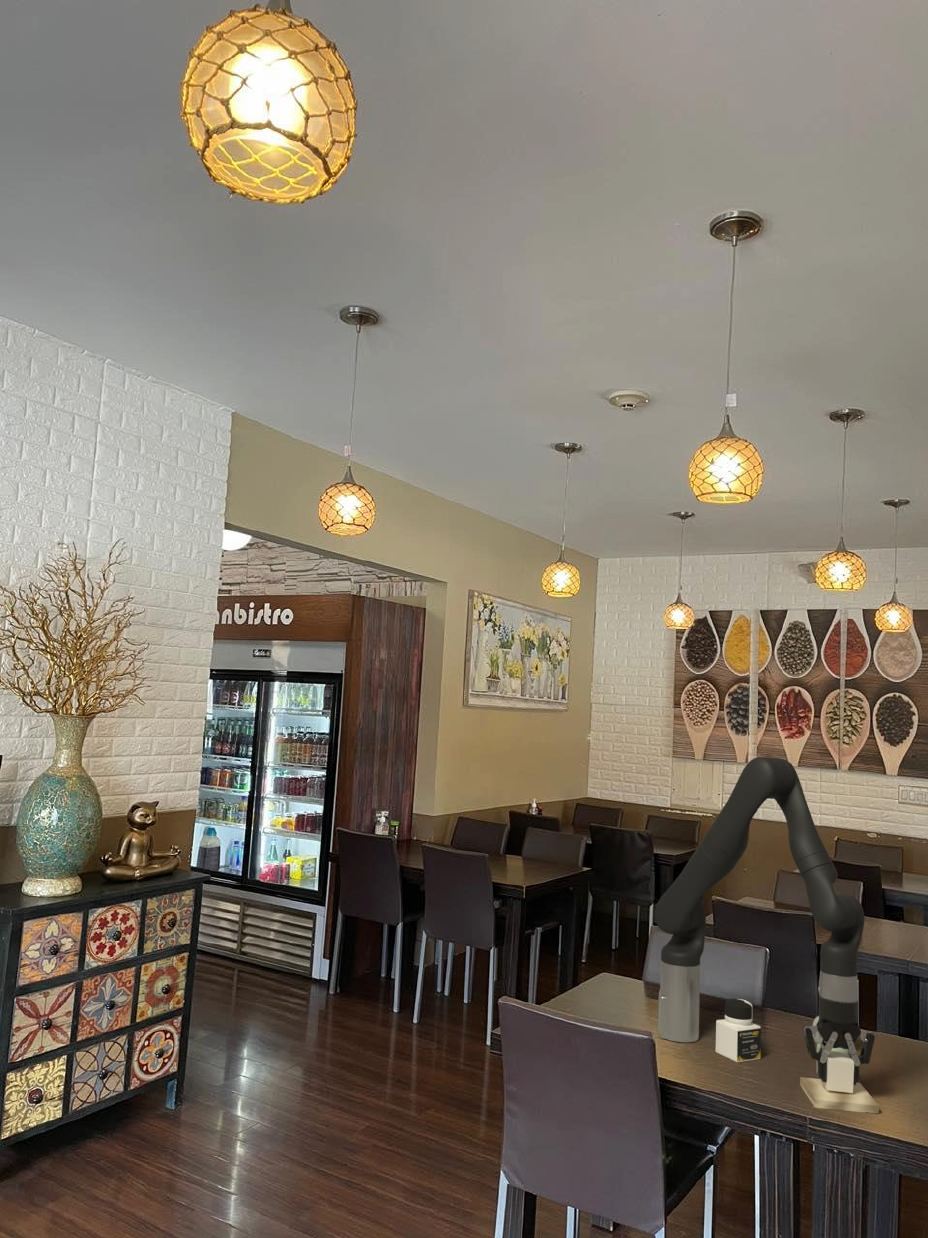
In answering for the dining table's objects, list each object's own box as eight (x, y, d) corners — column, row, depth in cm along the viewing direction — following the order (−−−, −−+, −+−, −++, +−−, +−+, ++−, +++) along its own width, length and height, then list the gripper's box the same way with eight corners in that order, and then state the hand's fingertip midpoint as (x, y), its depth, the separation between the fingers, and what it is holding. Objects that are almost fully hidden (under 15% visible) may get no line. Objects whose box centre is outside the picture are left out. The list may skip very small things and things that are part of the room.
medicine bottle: (737, 1063, 205) (738, 1007, 207) (714, 1052, 212) (715, 998, 213) (761, 1059, 209) (762, 1004, 210) (738, 1049, 215) (739, 995, 216)
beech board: (815, 1108, 182) (815, 1100, 182) (800, 1085, 194) (800, 1077, 194) (878, 1114, 181) (878, 1105, 181) (859, 1090, 193) (859, 1083, 193)
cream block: (827, 1090, 186) (828, 1059, 187) (819, 1080, 191) (821, 1050, 192) (852, 1093, 186) (854, 1062, 186) (844, 1083, 191) (846, 1053, 191)
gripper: (806, 997, 187) (806, 1086, 185) (881, 1003, 185) (881, 1093, 183) (797, 987, 194) (797, 1072, 192) (869, 993, 193) (869, 1079, 191)
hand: (838, 1082), depth 188 cm, fingers closed on cream block, 5 cm apart
